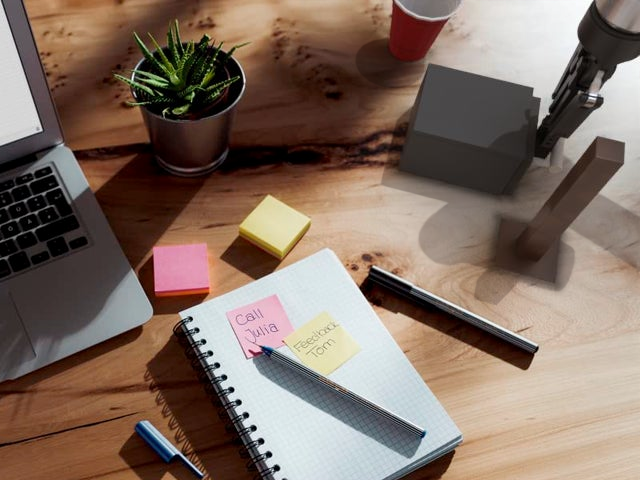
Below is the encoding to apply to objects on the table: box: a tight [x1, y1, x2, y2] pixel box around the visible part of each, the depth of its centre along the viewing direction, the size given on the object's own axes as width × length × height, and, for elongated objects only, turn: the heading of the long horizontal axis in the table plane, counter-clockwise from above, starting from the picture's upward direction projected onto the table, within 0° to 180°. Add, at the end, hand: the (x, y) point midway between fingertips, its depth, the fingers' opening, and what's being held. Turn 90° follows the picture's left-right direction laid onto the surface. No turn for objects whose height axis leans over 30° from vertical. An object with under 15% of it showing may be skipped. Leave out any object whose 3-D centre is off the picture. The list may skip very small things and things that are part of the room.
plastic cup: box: [388, 0, 465, 63], centre depth 100 cm, size 11×11×12 cm
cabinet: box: [397, 62, 535, 197], centre depth 93 cm, size 15×13×10 cm
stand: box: [494, 135, 626, 284], centre depth 80 cm, size 8×8×22 cm
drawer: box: [501, 95, 566, 196], centre depth 92 cm, size 18×11×8 cm, turn 73°
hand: (535, 153), depth 92 cm, fingers closed
